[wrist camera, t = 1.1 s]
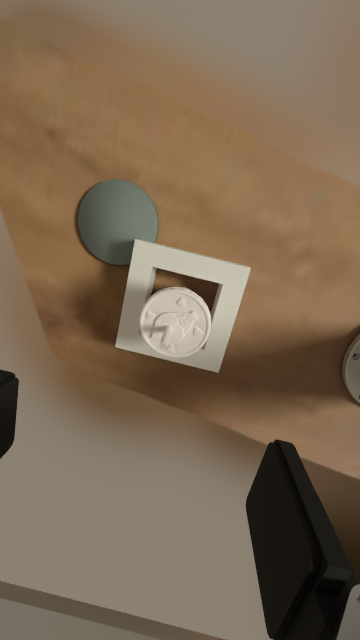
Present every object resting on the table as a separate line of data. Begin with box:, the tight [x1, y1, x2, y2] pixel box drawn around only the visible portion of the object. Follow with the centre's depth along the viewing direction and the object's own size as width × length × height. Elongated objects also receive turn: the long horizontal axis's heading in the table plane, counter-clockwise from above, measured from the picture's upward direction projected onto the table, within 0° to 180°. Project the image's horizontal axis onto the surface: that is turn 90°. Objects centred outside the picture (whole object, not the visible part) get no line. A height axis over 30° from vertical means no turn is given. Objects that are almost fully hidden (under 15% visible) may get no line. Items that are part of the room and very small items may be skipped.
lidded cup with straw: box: [139, 287, 211, 358], centre depth 26 cm, size 6×6×14 cm
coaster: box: [78, 179, 158, 265], centre depth 31 cm, size 9×9×1 cm
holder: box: [115, 239, 251, 373], centre depth 31 cm, size 12×12×4 cm
